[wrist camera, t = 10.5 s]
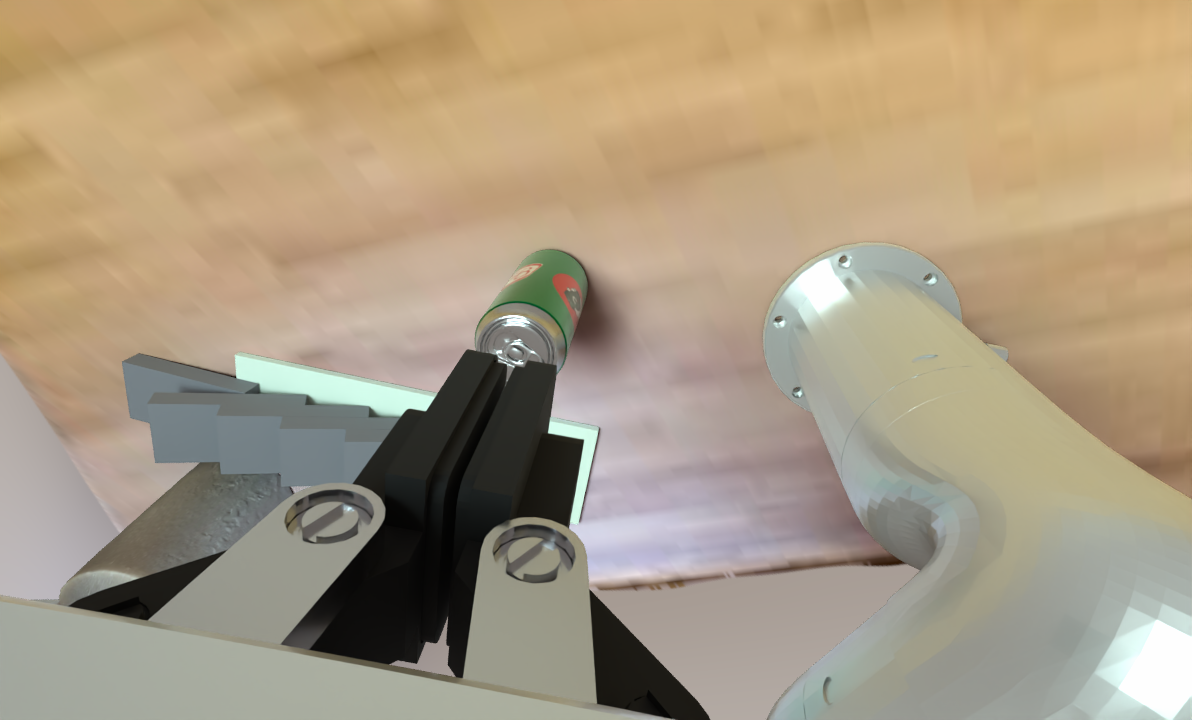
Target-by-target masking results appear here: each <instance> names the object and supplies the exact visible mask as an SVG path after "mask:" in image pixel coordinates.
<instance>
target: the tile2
mask: <svg viewBox="0 0 1192 720" xmlns="http://www.w3.org/2000/svg"><path fill="white" fill-rule="evenodd" d="M390 431H391V430H380V429H346V434H345V441H344V483H348V484H353V482H354V481H355V479H356V478H357V477H358V475H359V474H360V472H361V471H362V470H363V468H364V467H365V466H366V464H367V463H368V461H369V460H370V459H371V457H372V456H373V454H374V453H375V452H376V450H377V449H378V448H379V446H380V445H381V443H382V442H383V441H384V439H385V438H386V436H387V435H388V434H389V432H390Z"/></svg>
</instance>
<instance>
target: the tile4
mask: <svg viewBox="0 0 1192 720" xmlns="http://www.w3.org/2000/svg"><path fill="white" fill-rule="evenodd" d="M283 416H284V417H369V406H331V405H259V404H221V406H220V408H219V410H218V413H217V415H216V421H217V433H218V445H219V458H220V470H221V474H268V473H281V466H280V435H279V428H280V424H281V421H282V417H283Z"/></svg>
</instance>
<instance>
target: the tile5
mask: <svg viewBox="0 0 1192 720" xmlns="http://www.w3.org/2000/svg"><path fill="white" fill-rule="evenodd" d="M221 404H259V405H307V395H290V394H229V393H167V392H154V394H153V395H152V397H151V398H150V400H149V402H148V403H147V406H148V414H149V421H150V428H151V435H152V443H153V450H154V457H155V463H186V462H220V458H219V445H218V433H217V421H216V415H217V413H218V410H219V408H220V406H221Z"/></svg>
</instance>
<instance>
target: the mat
mask: <svg viewBox="0 0 1192 720" xmlns="http://www.w3.org/2000/svg"><path fill="white" fill-rule="evenodd" d="M235 362H236V378H237V379H241V380H245V381H249V382H253V383H257V384H259V394H290V395H307V405H331V406H369V417H372V418H400V417H401V416H402V414H403V413H404V412H405V411H406V410H407V409H416V410H421V411H426V410H427V409H428V407H429V406H430V404H431V403H432V401H433V400H434V398H435V397H436V395H437V394H438V393H434V392H429V391H424V390H420V389H415V388H410V387H405V386H400V385H396V384H391V383H386V382H381V381H377V380H372V379H367V378H362V377H357V376H353V375H348V374H343V373H338V372H334V371H329V370H324V369H319V368H314V367H310V366H305V365H300V364H295V363H291V362H286V361H281V360H276V359H271V358H267V357H262V356H257V355H252V354H248V353H243V352H239V353H237V354H236V355H235ZM598 430H599V427H596V426H592V425H587V424H582V423H577V422H573V421H568V420H563V419H558V418H553V417H550V423H549V430H548V433H550V434H556V435H562V436H567V437H573V438H578V439H584V446H583V452H582V458H581V463H580V469H579V475H578V481H577V487H576V492H575V498H574V503H573V509H572V514H571V520H570V523H573V524H578V523H579V518H580V514H581V509H582V504H583V500H584V495H585V491H586V486H587V481H588V477H589V472H590V467H591V463H592V458H593V454H594V449H595V444H596V440H597V435H598Z"/></svg>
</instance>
